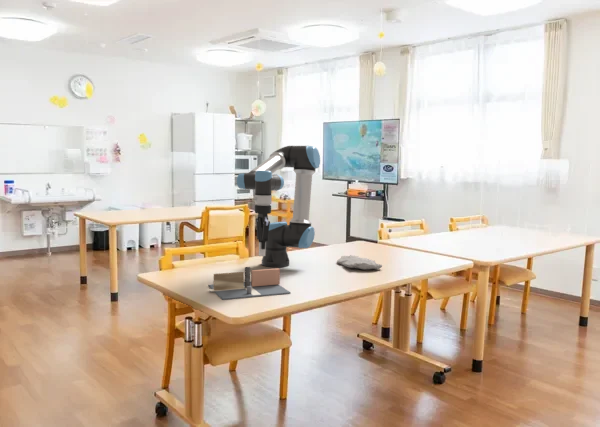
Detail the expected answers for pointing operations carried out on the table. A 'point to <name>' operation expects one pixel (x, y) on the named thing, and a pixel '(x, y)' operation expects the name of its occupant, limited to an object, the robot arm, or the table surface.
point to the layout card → (258, 288)
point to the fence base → (232, 280)
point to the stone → (358, 262)
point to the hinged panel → (265, 277)
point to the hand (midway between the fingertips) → (262, 255)
